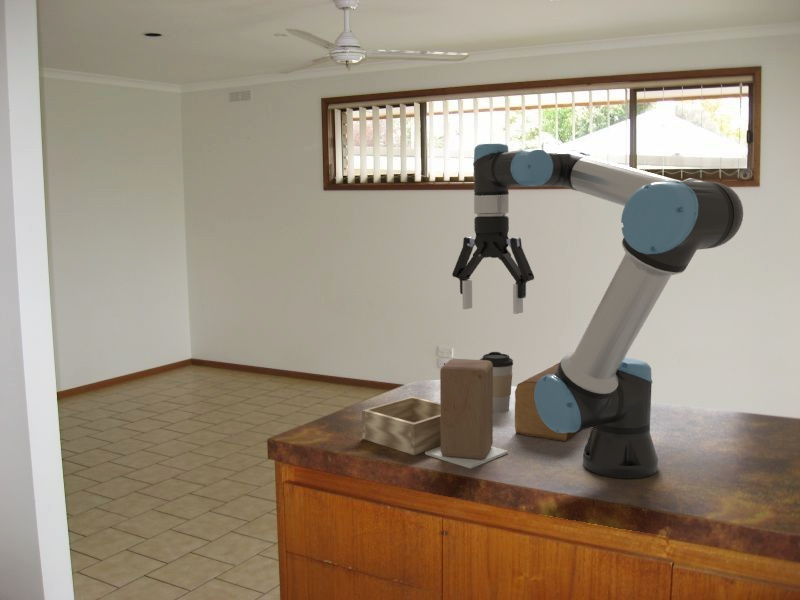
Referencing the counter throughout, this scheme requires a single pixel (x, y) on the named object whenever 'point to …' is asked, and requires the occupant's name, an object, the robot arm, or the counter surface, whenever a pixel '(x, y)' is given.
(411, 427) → the birch frame
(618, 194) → the robot arm
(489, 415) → the wooden block
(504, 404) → the coffee cup
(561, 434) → the bread
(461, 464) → the grey mat
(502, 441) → the counter surface
